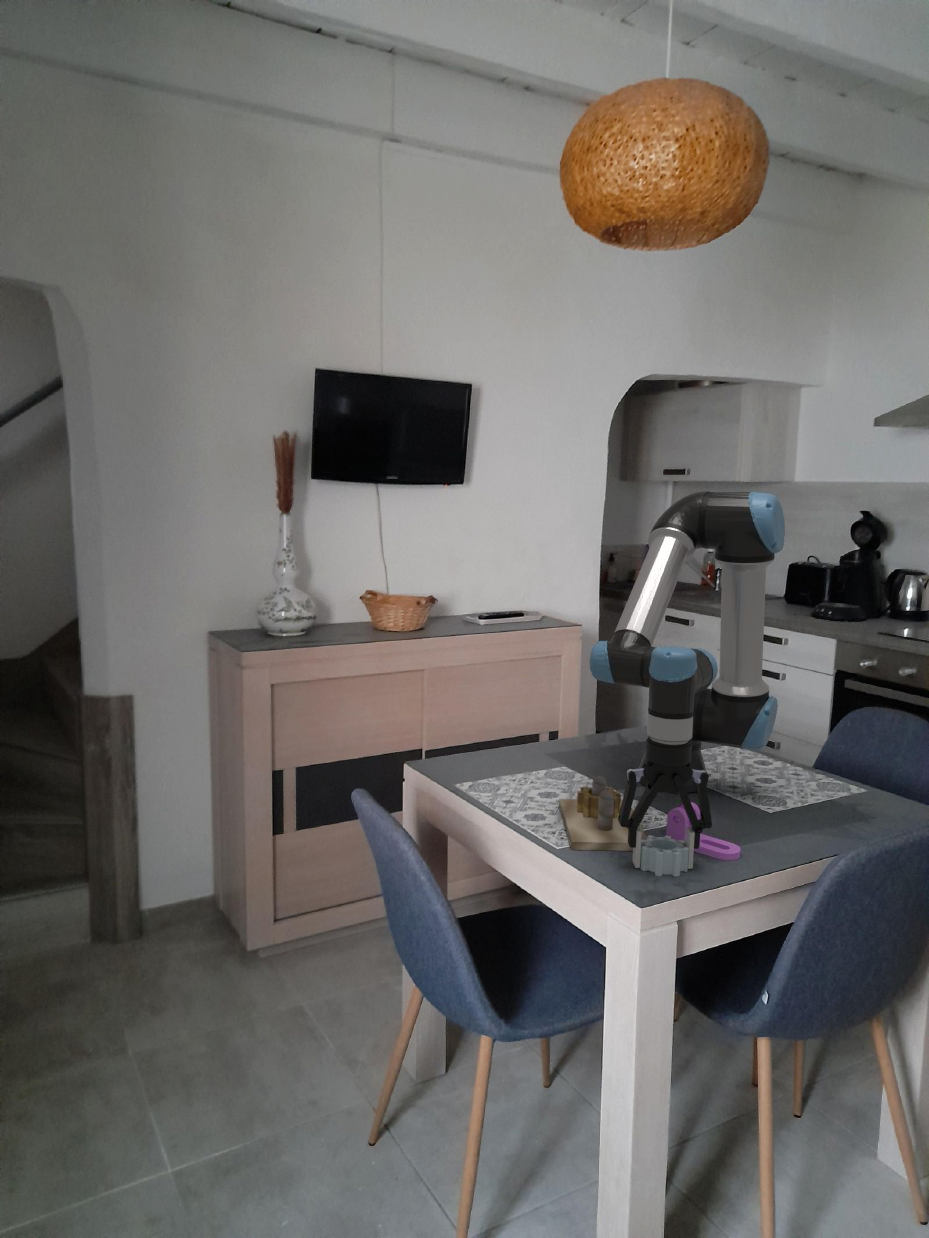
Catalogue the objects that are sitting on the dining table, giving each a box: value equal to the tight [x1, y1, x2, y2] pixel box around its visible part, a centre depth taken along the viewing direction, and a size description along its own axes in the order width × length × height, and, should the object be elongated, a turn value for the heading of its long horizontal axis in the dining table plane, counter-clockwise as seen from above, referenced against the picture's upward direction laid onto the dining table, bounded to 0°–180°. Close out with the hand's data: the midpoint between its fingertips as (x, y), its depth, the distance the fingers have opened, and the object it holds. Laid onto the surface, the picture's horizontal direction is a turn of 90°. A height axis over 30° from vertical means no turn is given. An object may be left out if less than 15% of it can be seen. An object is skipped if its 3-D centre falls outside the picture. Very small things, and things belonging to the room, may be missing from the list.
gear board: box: [558, 775, 647, 852], centre depth 170 cm, size 14×22×9 cm, turn 0°
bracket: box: [665, 801, 742, 861], centre depth 161 cm, size 13×6×7 cm, turn 47°
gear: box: [639, 834, 689, 878], centre depth 153 cm, size 8×8×4 cm
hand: (662, 864), depth 153 cm, fingers open, 8 cm apart
